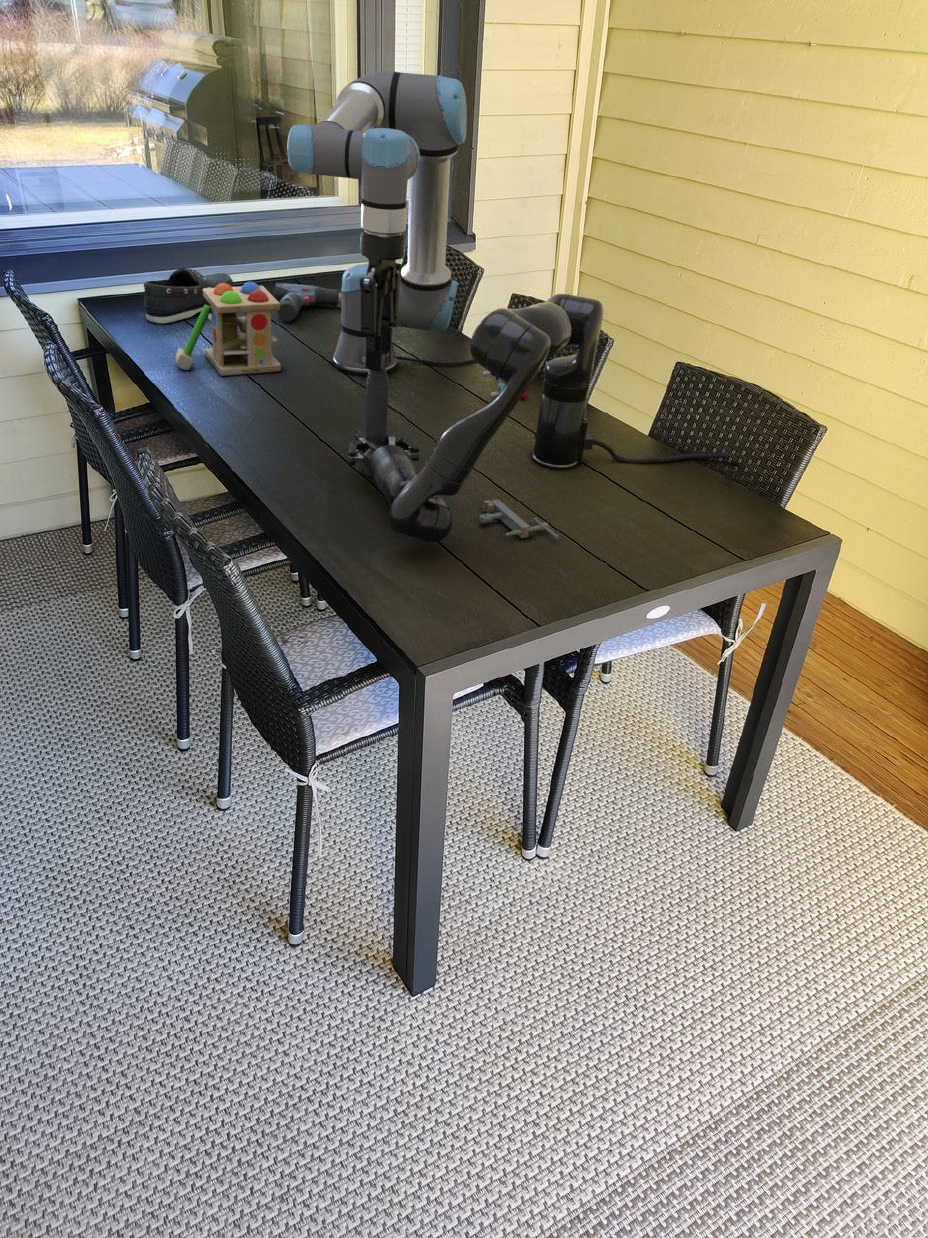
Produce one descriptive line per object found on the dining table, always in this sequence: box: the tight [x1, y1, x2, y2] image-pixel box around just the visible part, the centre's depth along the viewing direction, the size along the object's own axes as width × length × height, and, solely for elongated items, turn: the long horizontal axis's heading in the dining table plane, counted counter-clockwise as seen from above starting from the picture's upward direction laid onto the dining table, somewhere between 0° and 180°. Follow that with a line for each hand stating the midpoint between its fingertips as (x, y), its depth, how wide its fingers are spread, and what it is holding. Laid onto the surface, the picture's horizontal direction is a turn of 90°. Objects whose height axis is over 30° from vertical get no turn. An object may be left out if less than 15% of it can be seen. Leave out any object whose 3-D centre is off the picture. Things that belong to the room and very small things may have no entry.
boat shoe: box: [143, 267, 235, 324], centre depth 260 cm, size 13×33×10 cm, turn 147°
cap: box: [381, 348, 389, 369], centre depth 178 cm, size 4×4×3 cm
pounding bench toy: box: [174, 281, 282, 377], centre depth 225 cm, size 23×14×18 cm, turn 116°
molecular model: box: [481, 370, 528, 400], centre depth 225 cm, size 12×10×10 cm
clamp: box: [478, 498, 560, 540], centre depth 176 cm, size 15×2×10 cm
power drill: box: [274, 282, 342, 322], centre depth 265 cm, size 5×19×20 cm
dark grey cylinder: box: [363, 368, 390, 478], centre depth 184 cm, size 4×4×24 cm
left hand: (378, 365), depth 178 cm, fingers closed on cap, 4 cm apart
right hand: (371, 434), depth 189 cm, fingers closed on dark grey cylinder, 4 cm apart
